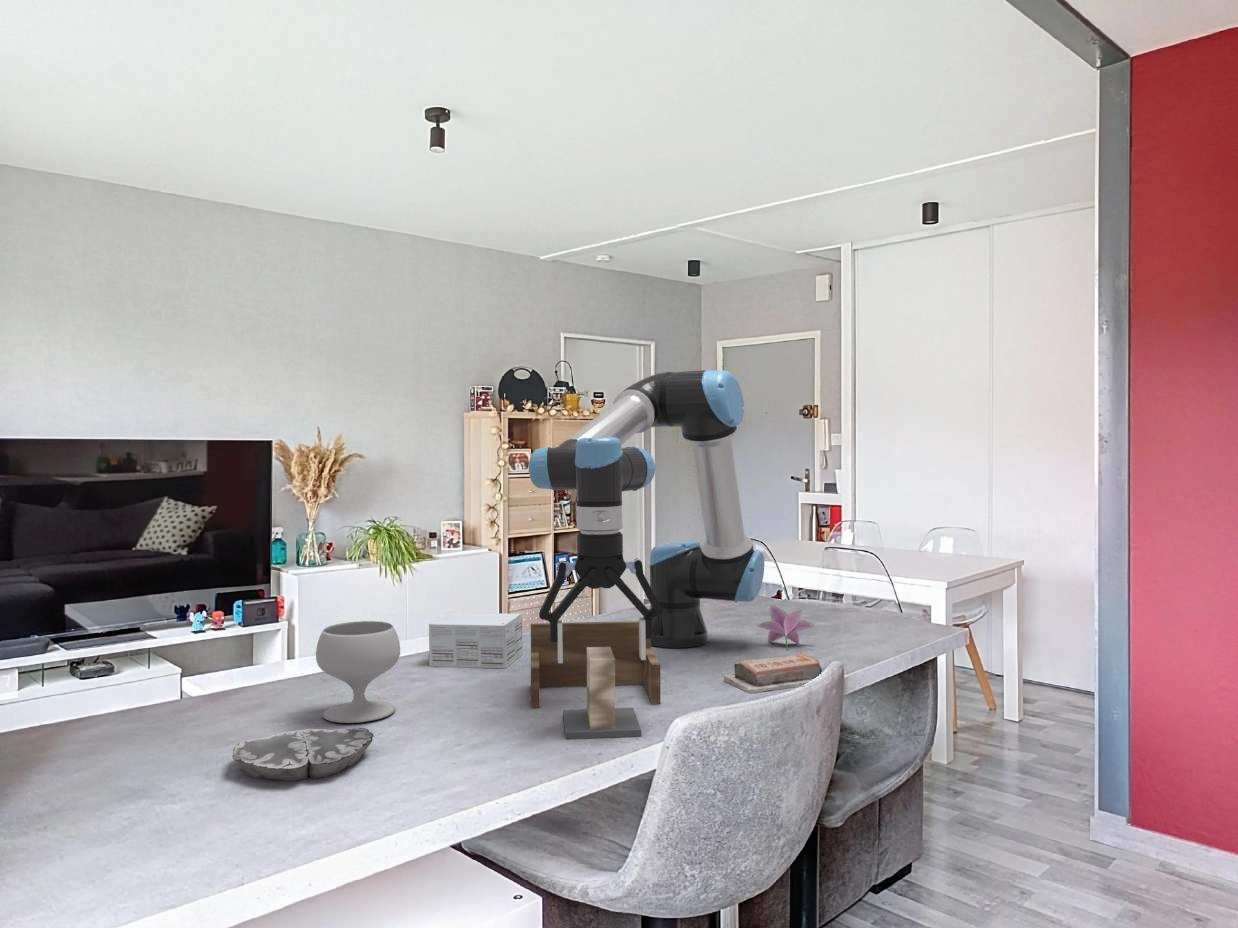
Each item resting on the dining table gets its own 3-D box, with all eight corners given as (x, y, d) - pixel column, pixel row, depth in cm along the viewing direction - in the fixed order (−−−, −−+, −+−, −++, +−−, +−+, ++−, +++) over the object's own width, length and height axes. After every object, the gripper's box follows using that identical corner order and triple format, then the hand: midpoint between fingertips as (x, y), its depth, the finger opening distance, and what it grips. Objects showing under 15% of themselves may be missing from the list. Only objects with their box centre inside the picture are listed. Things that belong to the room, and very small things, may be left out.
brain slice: (232, 799, 118) (232, 777, 118) (232, 757, 133) (232, 738, 133) (384, 776, 126) (383, 755, 125) (367, 739, 141) (367, 721, 141)
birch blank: (590, 728, 142) (589, 660, 142) (587, 711, 151) (586, 647, 151) (615, 727, 142) (614, 659, 142) (610, 710, 151) (610, 646, 151)
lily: (823, 652, 201) (817, 611, 206) (801, 640, 192) (795, 598, 197) (775, 662, 207) (770, 622, 212) (752, 651, 198) (747, 610, 203)
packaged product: (799, 649, 181) (829, 660, 172) (799, 673, 181) (829, 685, 172) (722, 658, 174) (750, 670, 164) (722, 682, 174) (750, 696, 165)
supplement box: (523, 654, 197) (523, 612, 196) (506, 669, 184) (505, 624, 183) (450, 652, 200) (450, 610, 199) (428, 666, 187) (428, 622, 186)
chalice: (324, 731, 144) (322, 639, 144) (310, 709, 157) (309, 624, 156) (409, 719, 151) (408, 631, 150) (390, 698, 163) (389, 616, 163)
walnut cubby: (531, 685, 171) (530, 623, 171) (649, 681, 173) (649, 620, 173) (530, 708, 156) (530, 640, 156) (660, 703, 159) (660, 636, 158)
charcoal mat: (563, 715, 152) (563, 709, 152) (632, 713, 153) (632, 707, 153) (565, 738, 140) (565, 732, 140) (641, 736, 141) (641, 729, 141)
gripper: (522, 536, 141) (525, 668, 142) (678, 532, 143) (680, 662, 144) (523, 530, 148) (525, 656, 149) (671, 526, 151) (672, 650, 152)
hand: (601, 659), depth 147 cm, fingers open, 13 cm apart
